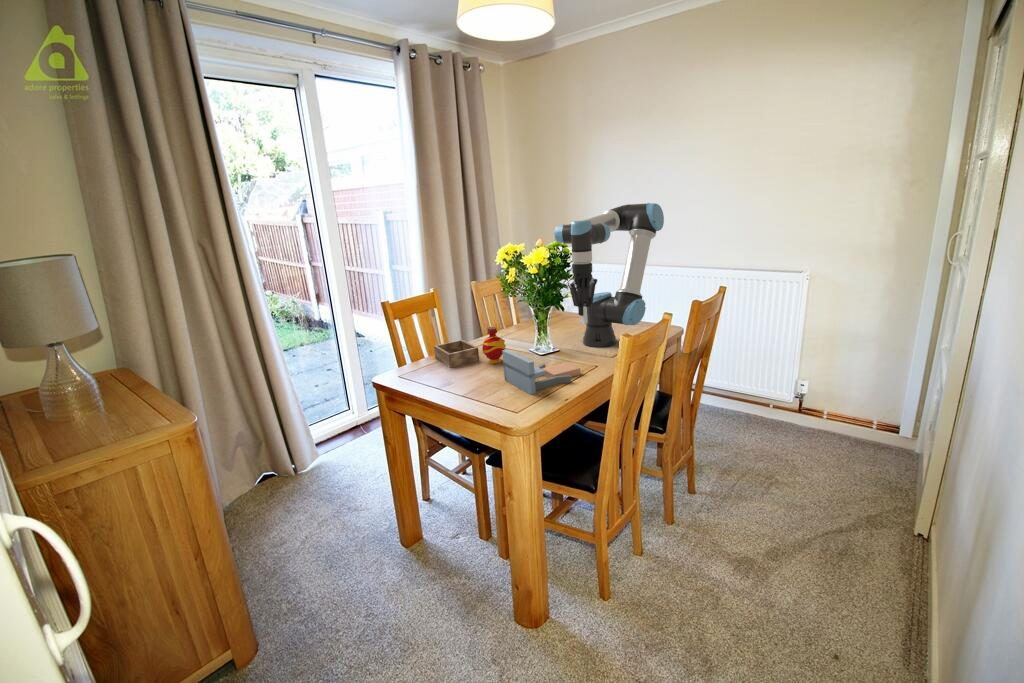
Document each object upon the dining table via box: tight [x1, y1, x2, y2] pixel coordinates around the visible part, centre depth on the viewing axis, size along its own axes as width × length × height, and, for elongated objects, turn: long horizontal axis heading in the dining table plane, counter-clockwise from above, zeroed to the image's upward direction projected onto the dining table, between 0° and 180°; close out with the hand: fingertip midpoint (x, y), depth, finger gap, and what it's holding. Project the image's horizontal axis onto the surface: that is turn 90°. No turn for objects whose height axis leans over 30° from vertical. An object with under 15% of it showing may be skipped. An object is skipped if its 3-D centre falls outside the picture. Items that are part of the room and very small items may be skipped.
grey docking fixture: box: [502, 348, 572, 396], centre depth 179 cm, size 18×19×12 cm
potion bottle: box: [482, 326, 507, 364], centre depth 205 cm, size 10×10×15 cm
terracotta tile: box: [542, 361, 581, 379], centre depth 186 cm, size 12×9×3 cm
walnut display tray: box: [433, 339, 480, 369], centre depth 212 cm, size 14×17×6 cm
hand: (583, 323), depth 186 cm, fingers closed
